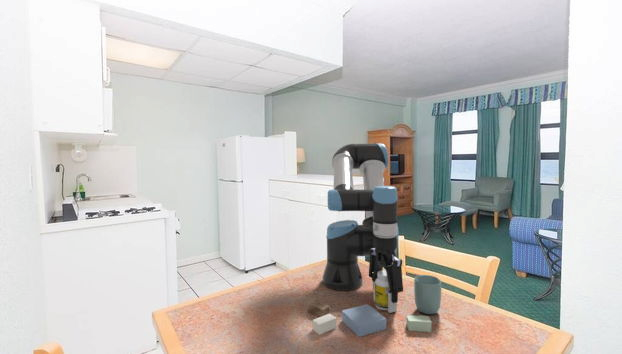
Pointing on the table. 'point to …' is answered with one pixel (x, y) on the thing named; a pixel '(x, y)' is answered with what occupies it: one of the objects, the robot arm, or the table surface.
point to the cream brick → (324, 324)
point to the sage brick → (419, 323)
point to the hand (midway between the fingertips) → (384, 305)
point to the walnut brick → (318, 308)
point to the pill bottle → (381, 290)
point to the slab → (363, 320)
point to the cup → (427, 293)
